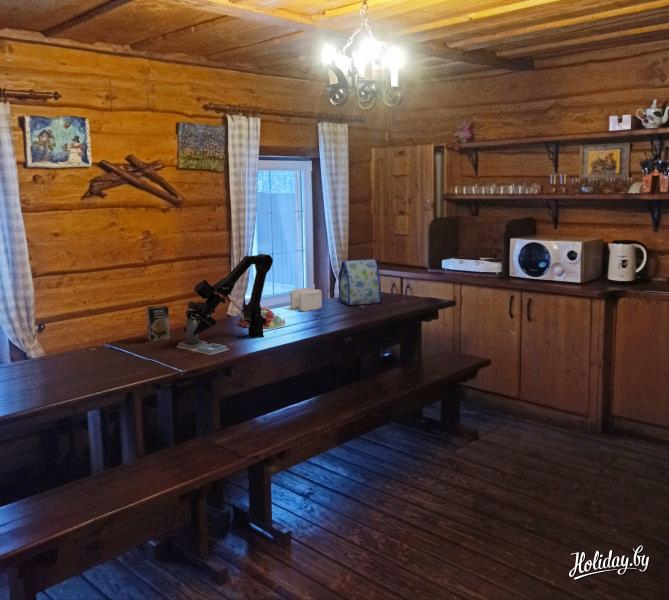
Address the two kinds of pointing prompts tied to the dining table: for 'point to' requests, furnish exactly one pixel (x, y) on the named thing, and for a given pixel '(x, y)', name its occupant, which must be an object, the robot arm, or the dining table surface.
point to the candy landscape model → (270, 319)
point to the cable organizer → (306, 299)
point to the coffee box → (158, 322)
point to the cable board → (203, 347)
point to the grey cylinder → (191, 331)
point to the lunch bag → (359, 282)
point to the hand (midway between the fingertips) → (189, 333)
